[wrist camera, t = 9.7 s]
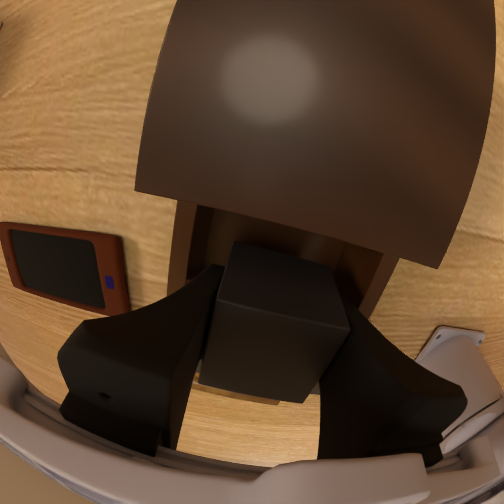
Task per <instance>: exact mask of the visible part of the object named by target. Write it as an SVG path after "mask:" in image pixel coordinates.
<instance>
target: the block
mask: <svg viewBox="0 0 504 504" xmlns="http://www.w3.org/2000/svg"><path fill="white" fill-rule="evenodd" d="M350 330H351V328H350V325H349V322H348V318H347V315H346V312H345V309H344V306H343V303H342V300H341V298H340V295H339V292H338V289H337V286H336V283H335V280H334V278H333V275H332V272H331V269H330V267H329V266H328V265H324V264H321V263H317V262H313V261H309V260H306V259H302V258H298V257H294V256H290V255H287V254H283V253H279V252H275V251H271V250H268V249H264V248H260V247H256V246H252V245H249V244H245V243H241V242H237V241H234V242H233V245H232V248H231V251H230V254H229V257H228V261H227V264H226V267H225V270H224V273H223V276H222V280H221V283H220V286H219V289H218V293H217V296H216V299H215V303H214V308H213V312H212V317H211V321H210V326H209V330H208V335H207V340H206V344H205V349H204V354H203V358H202V363H201V368H200V373H199V378H198V383H199V384H201V385H205V386H209V387H213V388H218V389H222V390H226V391H231V392H235V393H240V394H245V395H250V396H256V397H261V398H267V399H273V400H279V401H286V402H293V403H303V402H304V401H305V400H306V398H307V397H308V395H309V394H310V393H311V391H312V390H313V388H314V387H315V385H316V384H317V383H318V381H319V380H320V378H321V377H322V375H323V374H324V372H325V371H326V369H327V368H328V366H329V365H330V363H331V362H332V360H333V358H334V357H335V355H336V354H337V352H338V351H339V349H340V347H341V346H342V344H343V342H344V341H345V339H346V337H347V336H348V334H349V332H350Z"/></svg>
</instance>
